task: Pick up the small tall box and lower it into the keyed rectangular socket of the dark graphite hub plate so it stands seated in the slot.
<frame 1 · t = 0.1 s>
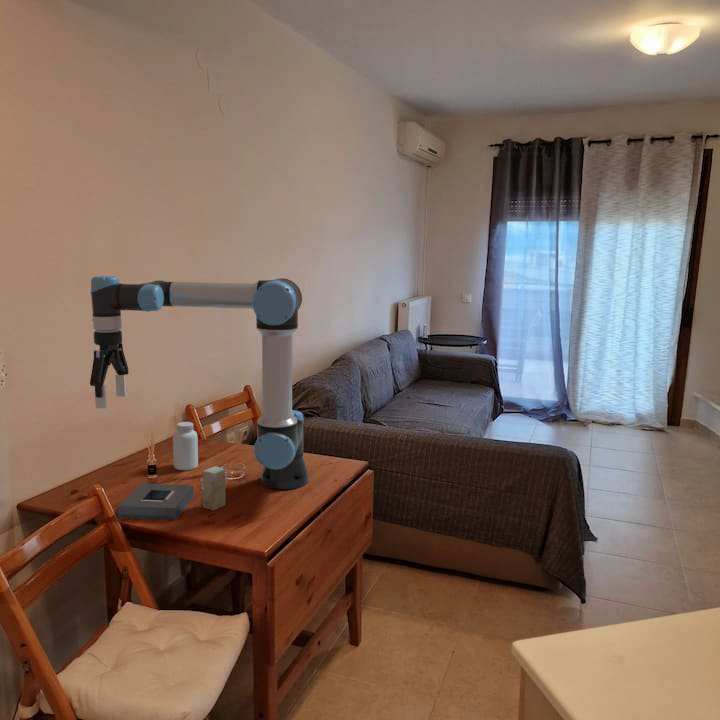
hand: (111, 401, 183), 28 cm above the table, fingers open, 13 cm apart
pill bottle: (186, 467, 209), on the table
box: (214, 506, 179), on the table
hub: (157, 506, 178), on the table
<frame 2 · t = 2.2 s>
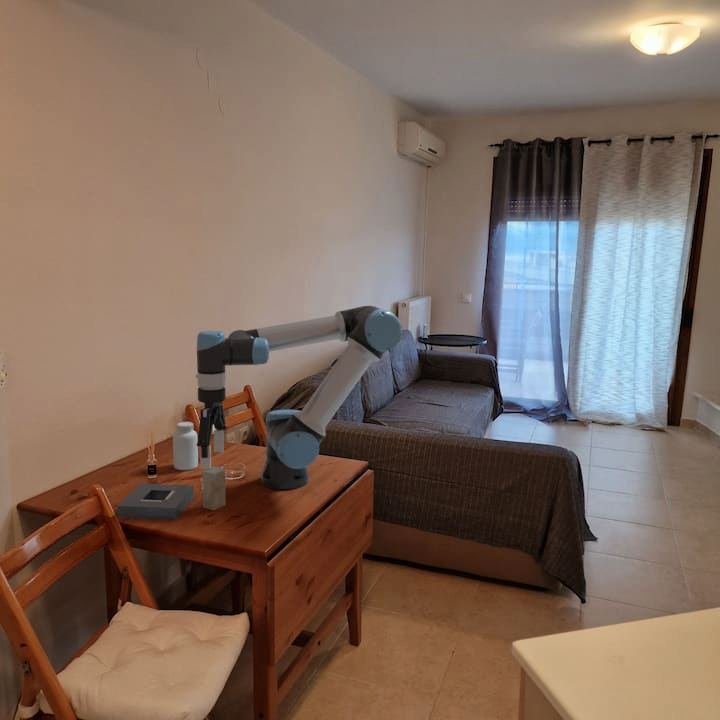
hand: (212, 459, 177), 14 cm above the table, fingers open, 13 cm apart
nothing on the table moved.
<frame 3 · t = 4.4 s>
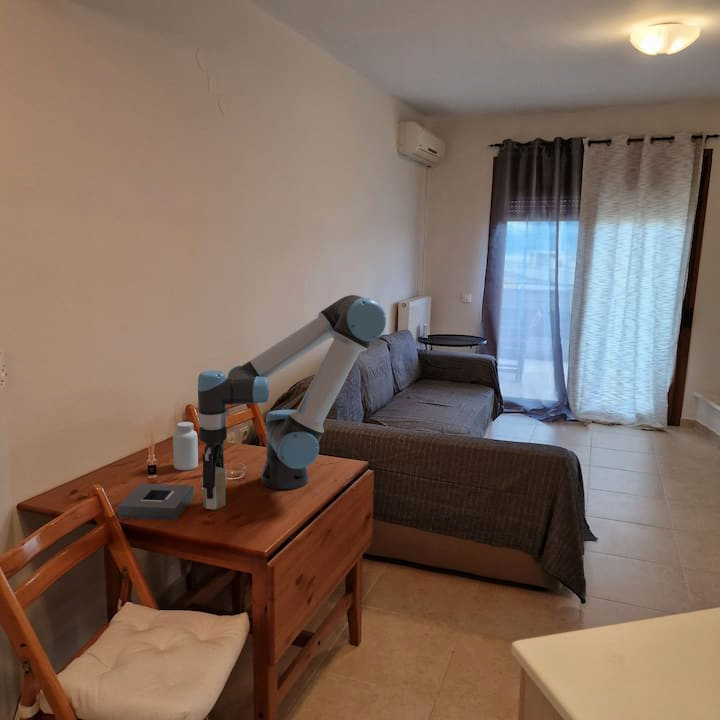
hand: (214, 502, 179), 1 cm above the table, fingers closed on box, 6 cm apart
box: (214, 506, 179), on the table, touching gripper
everything else where it was.
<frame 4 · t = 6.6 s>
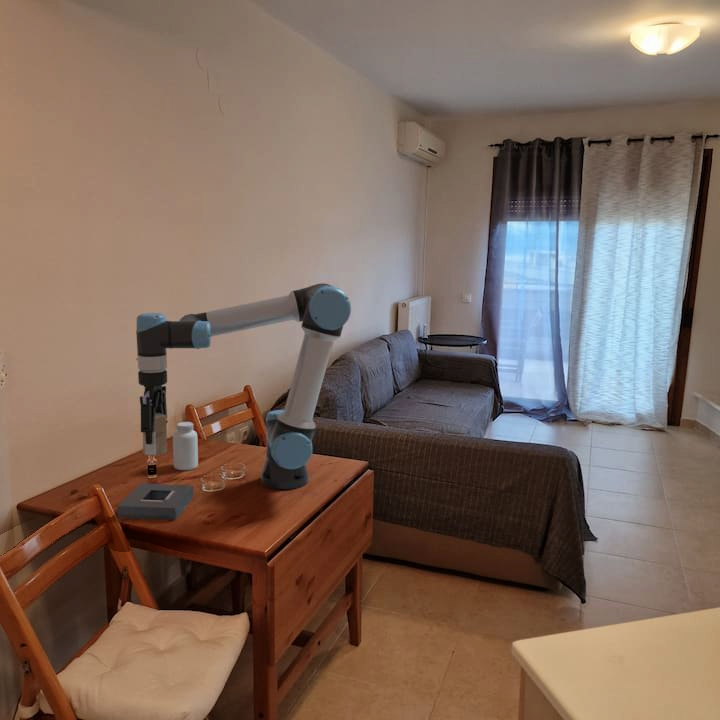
hand: (155, 450, 175), 17 cm above the table, fingers closed on box, 6 cm apart
box: (155, 453, 175), point 16 cm above the table, touching gripper
everything else where it was.
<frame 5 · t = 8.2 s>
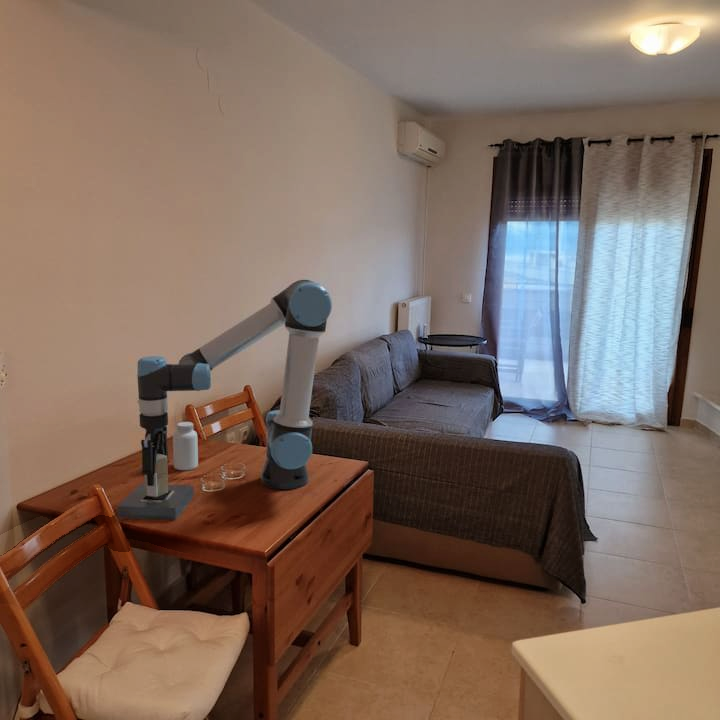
hand: (156, 490, 177), 5 cm above the table, fingers closed on box, 6 cm apart
box: (156, 494, 177), point 4 cm above the table, touching gripper
everything else where it was.
when the fingers open (5 cm above the table, at t = 9.1 s): box drops 4 cm, resting in hub.
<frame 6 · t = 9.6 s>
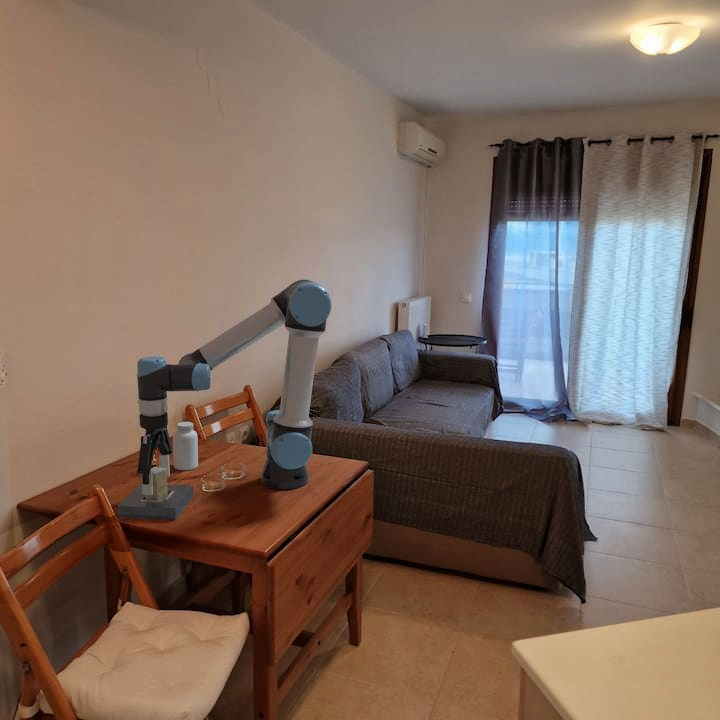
hand: (156, 485, 177), 7 cm above the table, fingers open, 13 cm apart
box: (157, 507, 178), resting in hub
everything else where it was.
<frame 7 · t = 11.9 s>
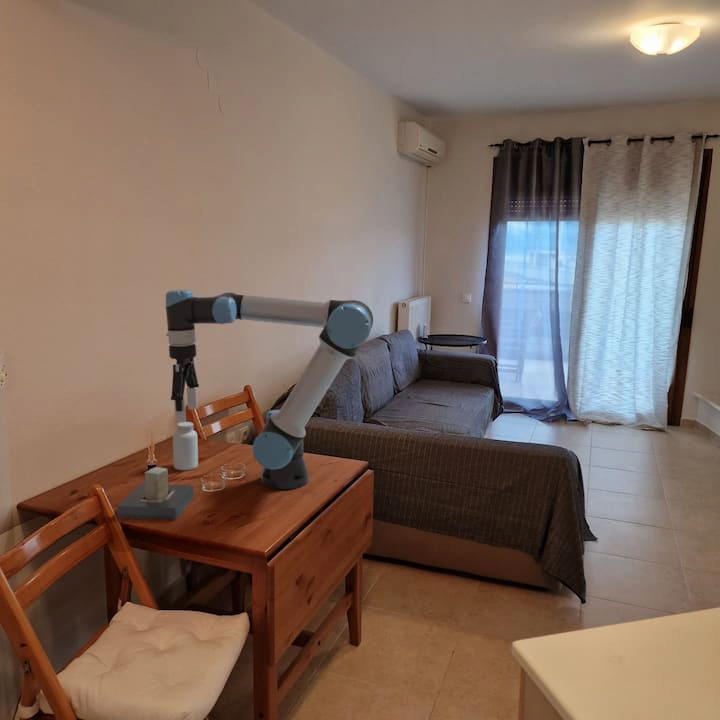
hand: (187, 415, 183), 24 cm above the table, fingers open, 13 cm apart
nothing on the table moved.
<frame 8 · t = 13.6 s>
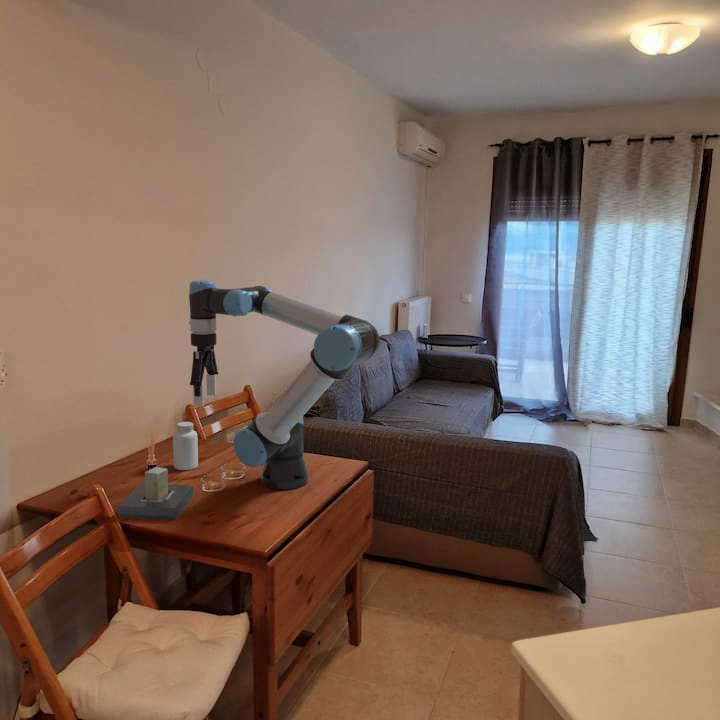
hand: (205, 400, 191), 27 cm above the table, fingers open, 13 cm apart
nothing on the table moved.
at the end: box 0.0 cm off-centre on the hub, point 0.0 cm above the hub's base; box tilted 0°; the gripper is holding nothing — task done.
